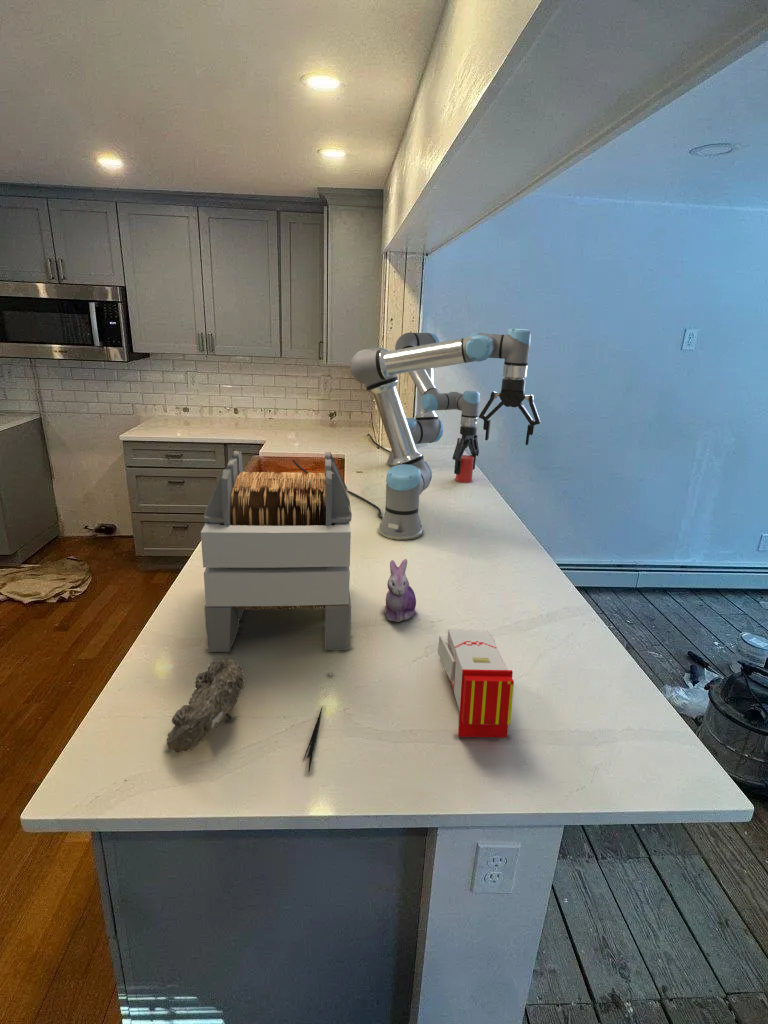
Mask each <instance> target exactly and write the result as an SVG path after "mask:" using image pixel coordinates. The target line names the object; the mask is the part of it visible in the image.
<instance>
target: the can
mask: <svg viewBox="0 0 768 1024" xmlns="http://www.w3.org/2000/svg"><path fill="white" fill-rule="evenodd" d="M460 461H461V469H460V475H458V474H455V481H456V482H458V483H461V484H462V483H463V484H467V483H468V484H469V483H471V482H473V474H474V473H473V471H474V470H473V463H474V457H473V456H470V455H468V454H463V455H462V457H461V459H460Z"/></svg>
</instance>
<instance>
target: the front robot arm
mask: <svg viewBox="0 0 768 1024" xmlns="http://www.w3.org/2000/svg"><path fill="white" fill-rule="evenodd" d="M531 341H532V332H531V330H529V329H528V328H527V329H525V328H508V330H507V333H506V334H496V333H483V332H474V333H471V334H470V336H465V337H461V338H455V339H450V340H443V341H440V342H438V343H433V344H427V345H421V346H416V347H410V348H405V349H399V350H395V349H394V350H388V349H387V348H384V347H380V346H374V347H371V348H366V349H360V350H359V351H358V352H356V353H355V354H354V355H353V357H352V358H351V361H350V367H349V368H350V372H351V375H352V377H353V378H354V379H355V380H356V381H357V382H358V383H360V384H363V385H364V386H365V388H366V391H367V393H369V394H371V395H372V396H373V398H374V402H375V404H376V407H377V410H378V413H379V417H380V420H381V423H382V426H383V429H384V431H385V434H386V437H387V440H388V443H389V446H390V449H391V450H392V452H393V455H394V460H393V462H392V465H393V467H391V466H390V468H389V469H388V470H387V471H386V472H387V473H386V476H385V477H386V478H385V483H386V484H385V504H384V505H385V507H384V508H385V509H384V513H383V515H382V510H381V508H380V507H379V506H378V505H376V504H374V503H373V502H371V501H369V500H368V499H366V498H364V497H362V496H361V495H358V494H357V493H355V492H352V491H351V490H348V495H351V496H354V497H356V498H358V499H360V500H361V501H363V502H364V503H366V504H368V505H370V506H371V507H373V508H375V509H376V510H377V512H378V514H377V515H378V518H379V519H381V522H379V525H378V533H379V534H380V535H381V536H382V537H385V538H387V539H389V540H395V541H410V540H415V539H418V538H420V537H421V536H422V535H423V525H422V524H421V518H420V515H419V507H420V506H419V505H420V496H421V494H422V493H423V492H425V490H426V489H427V488H428V487H429V486H430V483H431V481H432V478H433V471H432V468H431V466H430V464H429V463H428V462H427V461H425V458H424V454H423V453H422V452H421V451H418V450H417V447H416V444H414V441H413V438H412V434H411V431H410V428H409V425H408V422H407V419H406V418H407V416H406V413H405V410H404V407H403V405H402V402H401V398H400V396H399V392H398V390H397V385H398V383H399V379H398V375H401V374H407V373H408V372H413V371H419V370H425V369H431V368H434V369H437V368H443V367H448V366H455V365H461V364H467V363H474V362H484V361H486V360H488V359H502V360H504V362H503V370H502V377H503V378H502V380H501V388H500V392H497V391H495V390H493V391H492V392H491V393H490V396H489V398H488V401H487V402H486V404H485V405H484V407H483V409H481V412H480V413H479V414H478V418H479V419H481V420H483V427H482V429H483V431H485V438H484V440H485V441H488V440H489V439H490V431H491V421H492V420H491V419H490V418H491V417H492V416H493V415H495V413H496V412H498V411H499V410H500V409H501V408H502V407H503V406H504V407H506V408H509V407H511V408H518V409H519V410H520V411H521V413H522V414H523V416H524V417H525V420H526V421H527V422H528V423H529V424H527V428H526V429H527V430H526V437H525V446H528V445H529V443H530V437H531V436H533V434H534V431H535V426H536V425H537V426H538V425H540V424H541V419H540V415H539V412H538V409H537V407H536V404H535V401H534V398H535V397H534V394H531V393H530V394H525V389H526V378H527V374H528V365H529V364H528V363H529V358H530V352H531V351H530V350H531ZM498 397H499V399H500V402H499V403H498V404H497V405H496V406H495V407H494V408H493V409H492V410H491V411H490V412H489V413H488V414H487V412H488V411H489V408H490V407H491V405H492V404H493V402H494V401H495V399H497V398H498ZM524 400H526V402H528V404H529V407H530V410H531V412H532V416H533V417H532V416H531V415H530V413H529V411H528V410H527V408H526V407H525V404H524V403H523V401H524ZM533 418H534V419H533ZM291 461H292V463H293V464H294V465H295V467H297V468H298V469H299V470H300V471H302V472H303V473H304V474H305V473H306V474H307V473H310V472H309V471H307V470H306V469H304V468H303V467H301V466H300V465H299V464H298V463H297V462H296V460H295V459H292V460H291Z"/></svg>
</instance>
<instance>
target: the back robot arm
mask: <svg viewBox="0 0 768 1024" xmlns="http://www.w3.org/2000/svg"><path fill="white" fill-rule="evenodd" d="M438 342H441V340H440V339H439V337H438V336H437V335H436V334H435V333H431V332H405V333H403V334H402V335H400V336H399V337H398V339H397V340H396V342H395V346H394V347H395V348H394V350H399V349H405V348H410V347H416V346H421V345H427V344H433V343H438ZM434 370H435V368H431V369H425V370H419V371H413V372H407V373H408V374H409V375H408V376H410V378H411V380H412V381H413V383H414V385H415V386H416V390H417V391H416V392H417V395H416V396H417V414H416V416H415V417H406V419H407V422H408V425H409V428H410V431H411V434H412V438H413V441H414V444H415V445H419V444H432V443H437V442H439V441H440V440H441V439H442V437H443V434H444V424H443V421H442V420H441V419H439V415H438V414H437V412H436V411H451V410H457V411H461V416H460V429H459V434H460V435H461V438H460V437H458V438H457V440H456V445H455V448H454V452H453V454H452V460H454V471H453V473H454V475H456V474H458V475H460V469H461V461H460V459H461V457H462V455H464V453H465V451H466V449H467V448H468V449H469V451H470V455H469V456H473V457H474V463H473V471H474V470H475V469H476V461H477V457H479V454H480V448H479V440H478V435H477V430H478V427H477V426H478V422H479V420H478V418H479V412H480V411H479V409H480V403H481V394H480V392H479V391H475V390H464V391H463V393H461V392H458V391H450V392H446V393H445V392H443V393H442V392H440V391H439V390H438V389H437V387H436V385H435V371H434ZM367 436H369V438H370V439H371V441H372V442H373V444H375V445H376V446H377V447H379V448H381V449H382V450H384V451H385V452H388V453H389V456H388V459H387V466H389V467H390V468H391V467H393V465H392V462H393V460H394V455H393V452H392V449H391V450H389V449H387V448H385V447H383V446H382V445H380V444H378V443H377V442H376V441H375V440H374V438H373V436H372V435H371V434H370V433H367V434H366V437H367Z"/></svg>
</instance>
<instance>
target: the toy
mask: <svg viewBox="0 0 768 1024" xmlns="http://www.w3.org/2000/svg"><path fill="white" fill-rule="evenodd" d="M446 640H447V643H446V641H445V639H444V636H443V635H442V634H439V637H438V646H437V656H438V657H439V659H440V661H441V663H442V666H443V668H444V670H445V672H446V674H447V677H448V679H449V681H450V684H451V687H452V690H453V693H454V697H455V701H456V705H457V708H458V711H459V714H458V715H459V716H458V730H457V731H458V732H457V737H458V738H508V731H509V726H510V725H511V717H512V707H513V697H514V696H513V695H514V684H515V680H514V679H513V673H514V671H513V670H512V669H508V667H507V665H506V662H505V661H504V659H503V658H502V655H501V653H500V651H499V649H498V647H497V643H496V639H495V637H494V635H493V634H491V632H490V631H489V629H467V628H466V629H465V628H463V629H461V628H460V629H459V628H448V630H447V639H446Z"/></svg>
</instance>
